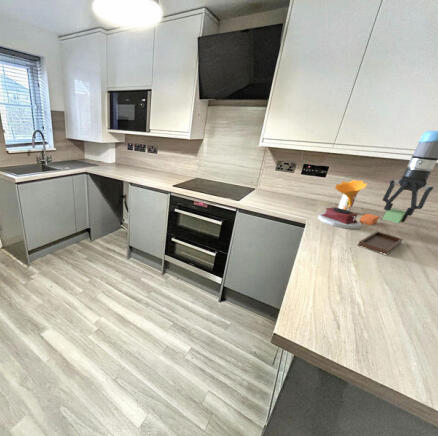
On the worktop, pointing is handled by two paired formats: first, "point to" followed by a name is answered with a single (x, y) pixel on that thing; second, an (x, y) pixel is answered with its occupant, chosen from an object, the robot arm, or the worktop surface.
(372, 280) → the worktop surface
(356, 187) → the gramophone
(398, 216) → the pad
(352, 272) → the worktop surface
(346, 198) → the aerosol can
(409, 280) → the worktop surface
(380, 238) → the frame
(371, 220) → the pad
